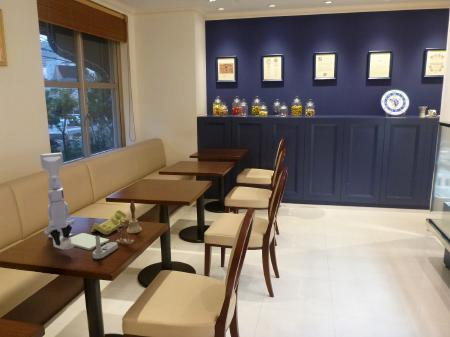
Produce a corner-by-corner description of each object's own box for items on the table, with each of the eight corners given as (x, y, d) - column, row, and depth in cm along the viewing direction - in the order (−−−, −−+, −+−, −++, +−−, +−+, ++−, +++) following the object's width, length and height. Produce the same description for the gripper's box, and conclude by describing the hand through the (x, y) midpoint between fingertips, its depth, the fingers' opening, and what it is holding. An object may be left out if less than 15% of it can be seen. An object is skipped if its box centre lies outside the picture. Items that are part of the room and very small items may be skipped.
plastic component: (107, 231, 192) (92, 222, 195) (104, 242, 195) (89, 232, 198) (131, 217, 210) (117, 208, 212) (127, 227, 213) (114, 218, 215)
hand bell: (128, 227, 203) (126, 199, 200) (143, 227, 203) (141, 199, 200) (124, 233, 195) (121, 204, 192) (139, 233, 195) (137, 203, 192)
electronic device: (118, 228, 177) (98, 238, 163) (120, 247, 178) (100, 260, 164) (108, 227, 178) (88, 238, 164) (110, 246, 180) (90, 259, 166)
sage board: (62, 242, 185) (62, 240, 185) (82, 234, 195) (82, 232, 195) (89, 250, 175) (88, 248, 175) (109, 241, 185) (109, 239, 185)
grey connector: (52, 246, 173) (51, 237, 172) (59, 243, 176) (58, 235, 175) (69, 251, 167) (68, 243, 166) (76, 248, 170) (75, 240, 169)
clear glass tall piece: (115, 242, 183) (113, 219, 181) (120, 239, 187) (118, 216, 184) (130, 244, 180) (128, 221, 178) (135, 241, 183) (133, 218, 181)
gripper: (49, 221, 161) (53, 250, 164) (78, 211, 173) (81, 239, 176) (39, 218, 164) (43, 247, 167) (68, 209, 177) (71, 236, 179)
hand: (62, 243), depth 172 cm, fingers closed on grey connector, 4 cm apart
